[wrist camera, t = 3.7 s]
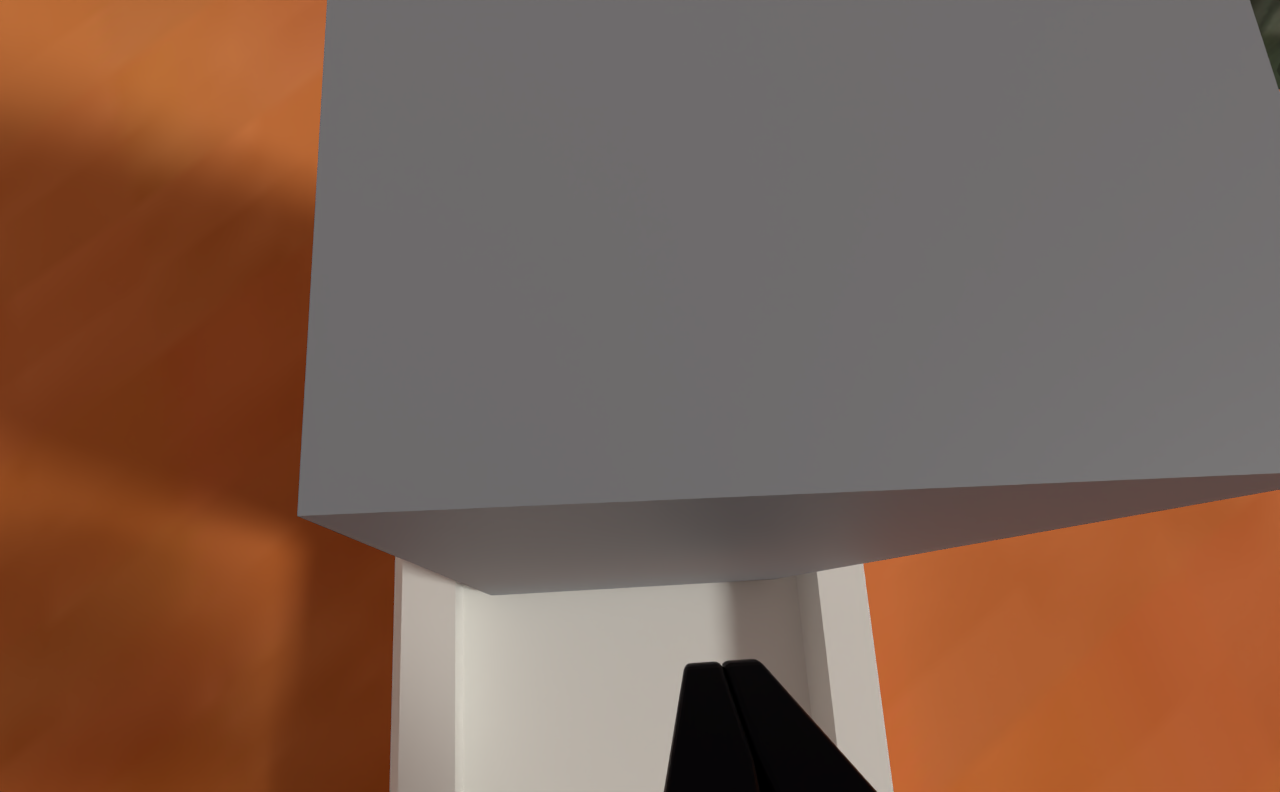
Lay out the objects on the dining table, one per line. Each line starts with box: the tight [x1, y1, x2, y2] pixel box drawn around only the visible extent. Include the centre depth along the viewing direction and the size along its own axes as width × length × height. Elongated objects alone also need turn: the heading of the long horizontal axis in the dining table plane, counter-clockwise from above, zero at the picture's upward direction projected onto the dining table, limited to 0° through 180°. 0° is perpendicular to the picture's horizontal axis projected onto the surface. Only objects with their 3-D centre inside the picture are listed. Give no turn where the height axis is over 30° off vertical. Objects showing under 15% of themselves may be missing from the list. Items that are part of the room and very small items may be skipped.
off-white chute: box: [390, 556, 893, 792], centre depth 17 cm, size 15×10×2 cm, turn 4°
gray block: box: [297, 0, 1280, 596], centre depth 11 cm, size 6×6×13 cm
